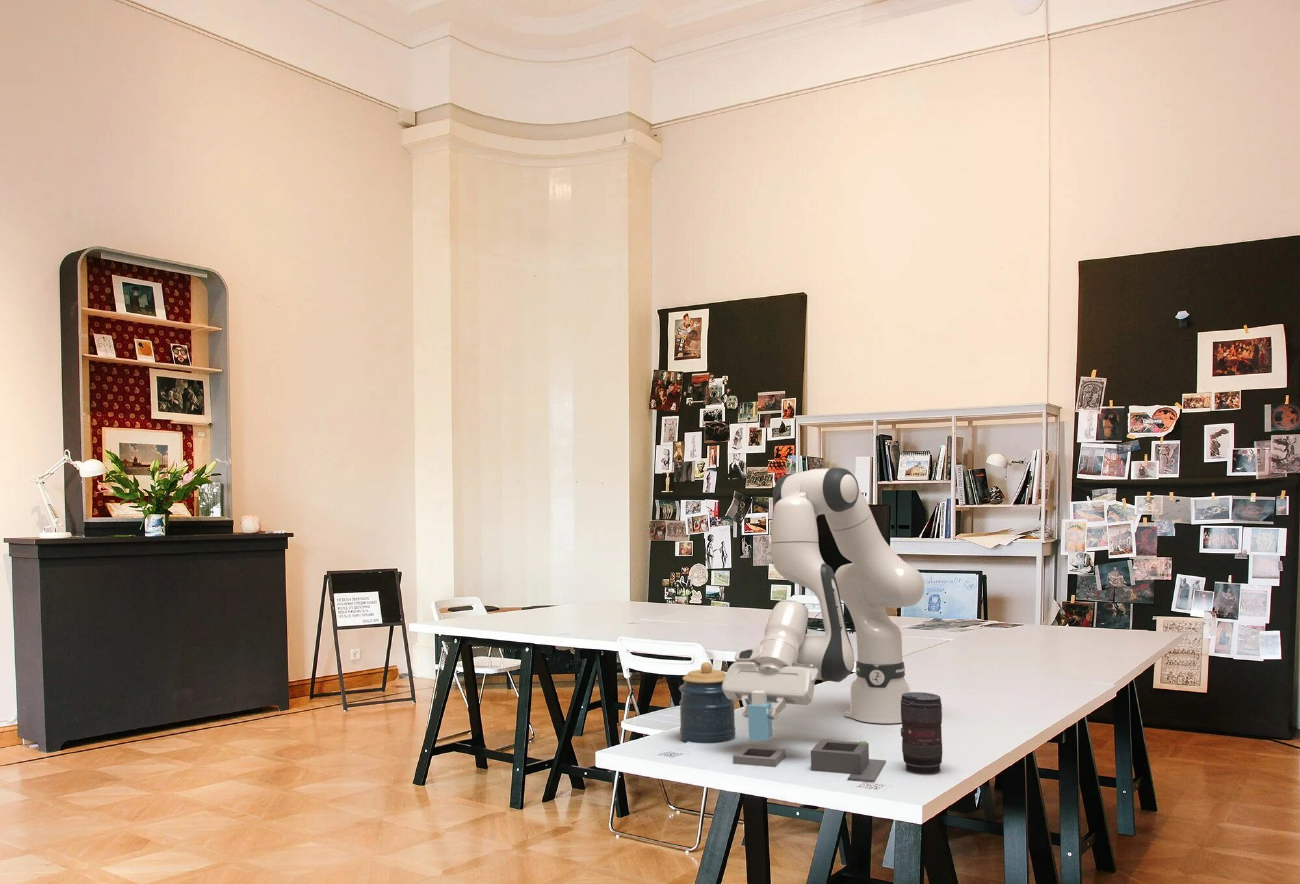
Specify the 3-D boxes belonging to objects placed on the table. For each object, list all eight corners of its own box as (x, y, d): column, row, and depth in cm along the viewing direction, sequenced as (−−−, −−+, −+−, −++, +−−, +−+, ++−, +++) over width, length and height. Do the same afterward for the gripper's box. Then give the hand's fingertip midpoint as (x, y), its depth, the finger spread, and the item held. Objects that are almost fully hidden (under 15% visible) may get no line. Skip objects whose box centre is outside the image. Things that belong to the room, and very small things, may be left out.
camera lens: (926, 777, 196) (924, 700, 197) (894, 769, 203) (891, 694, 204) (952, 770, 201) (949, 695, 202) (920, 762, 208) (917, 689, 209)
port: (810, 756, 214) (809, 732, 215) (885, 762, 209) (885, 737, 209) (793, 775, 200) (792, 750, 200) (874, 782, 194) (873, 756, 194)
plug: (754, 735, 213) (752, 689, 214) (772, 735, 212) (770, 690, 212) (749, 739, 209) (747, 693, 210) (767, 740, 208) (765, 693, 208)
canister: (747, 738, 233) (745, 661, 234) (712, 748, 223) (710, 668, 224) (703, 730, 241) (702, 656, 242) (668, 740, 232) (667, 663, 233)
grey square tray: (745, 755, 216) (744, 746, 216) (785, 758, 213) (785, 749, 213) (733, 765, 208) (733, 756, 208) (775, 769, 204) (775, 759, 205)
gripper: (824, 673, 216) (809, 729, 207) (739, 668, 226) (721, 721, 217) (815, 656, 212) (800, 712, 203) (729, 651, 223) (711, 704, 214)
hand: (758, 716), depth 210 cm, fingers closed on plug, 4 cm apart
